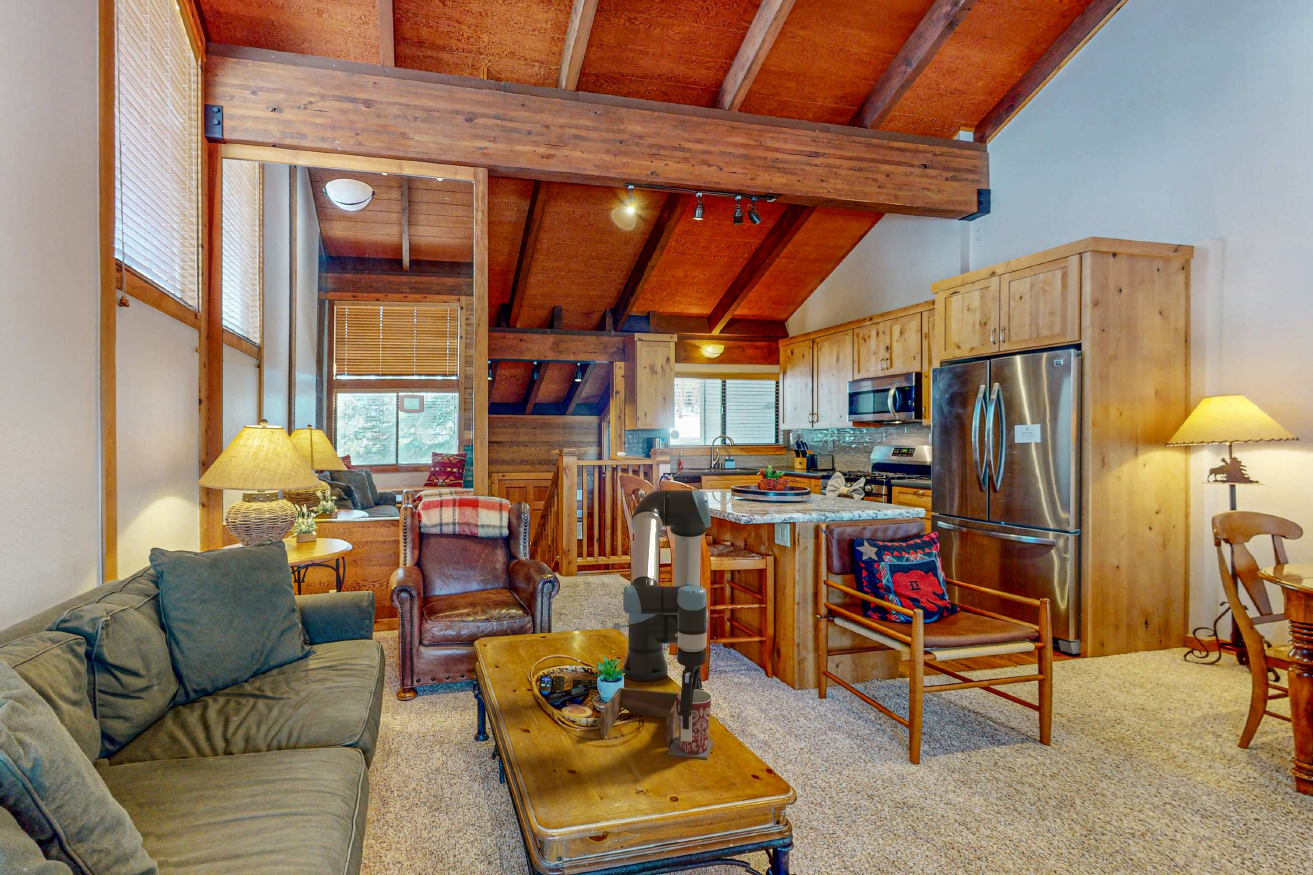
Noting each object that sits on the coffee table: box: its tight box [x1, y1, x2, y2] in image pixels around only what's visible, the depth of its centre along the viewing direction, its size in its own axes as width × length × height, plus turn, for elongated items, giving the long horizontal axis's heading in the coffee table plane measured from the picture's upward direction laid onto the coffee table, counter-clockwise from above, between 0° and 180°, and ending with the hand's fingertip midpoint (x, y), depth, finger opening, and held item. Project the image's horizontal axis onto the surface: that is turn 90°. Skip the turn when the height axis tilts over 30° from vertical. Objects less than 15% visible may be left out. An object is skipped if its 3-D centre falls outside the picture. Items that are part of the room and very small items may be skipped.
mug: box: [676, 689, 713, 754], centre depth 178 cm, size 13×9×14 cm
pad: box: [667, 735, 714, 760], centre depth 177 cm, size 10×10×1 cm
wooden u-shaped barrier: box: [599, 687, 679, 747], centre depth 189 cm, size 18×19×7 cm
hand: (691, 729), depth 177 cm, fingers open, 13 cm apart
